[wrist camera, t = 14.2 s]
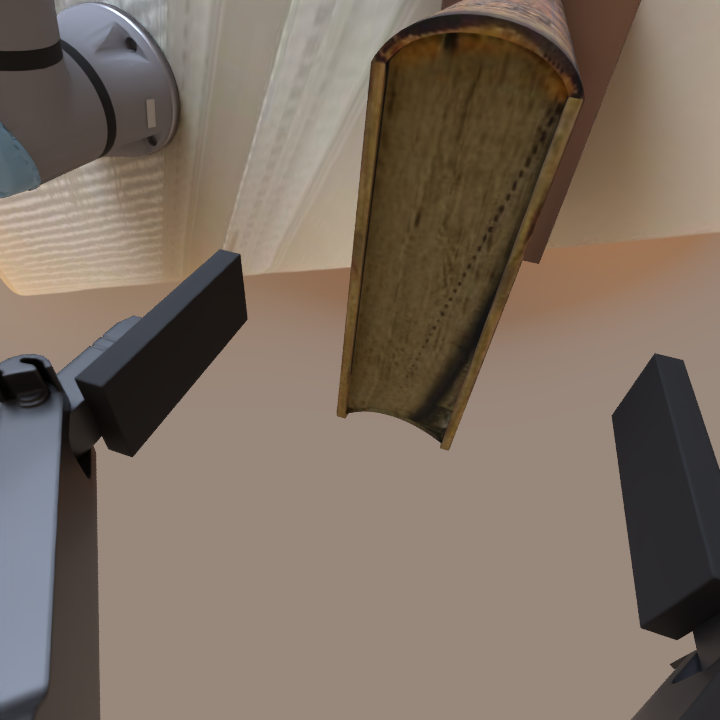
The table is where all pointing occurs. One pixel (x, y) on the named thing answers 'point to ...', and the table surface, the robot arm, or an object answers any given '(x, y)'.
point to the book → (451, 199)
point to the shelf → (596, 65)
